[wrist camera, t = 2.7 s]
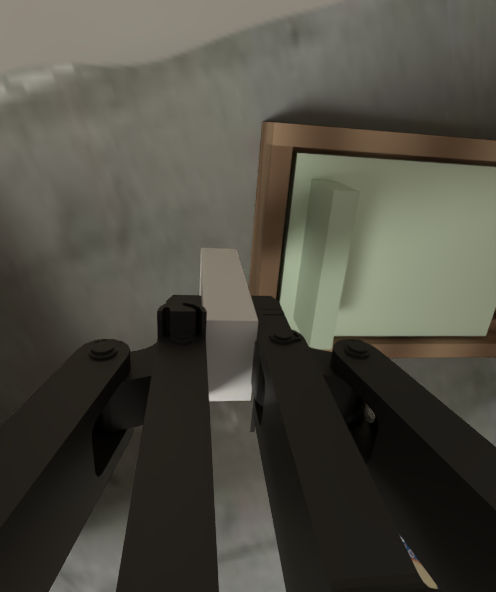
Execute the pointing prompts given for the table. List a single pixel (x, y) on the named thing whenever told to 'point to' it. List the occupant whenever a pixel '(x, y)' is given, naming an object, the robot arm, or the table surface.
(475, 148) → the box
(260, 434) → the robot arm
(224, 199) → the table surface
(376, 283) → the lid
